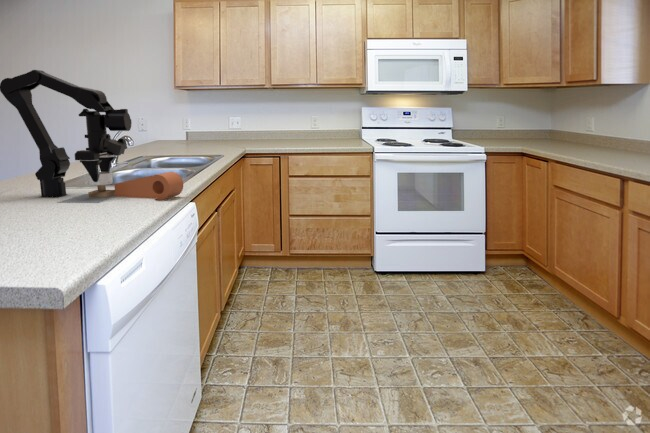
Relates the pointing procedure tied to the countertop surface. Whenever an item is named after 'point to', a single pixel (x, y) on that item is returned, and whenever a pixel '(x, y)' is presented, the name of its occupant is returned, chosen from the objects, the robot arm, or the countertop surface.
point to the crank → (151, 186)
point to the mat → (86, 199)
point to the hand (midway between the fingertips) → (100, 180)
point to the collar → (102, 178)
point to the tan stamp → (101, 192)
